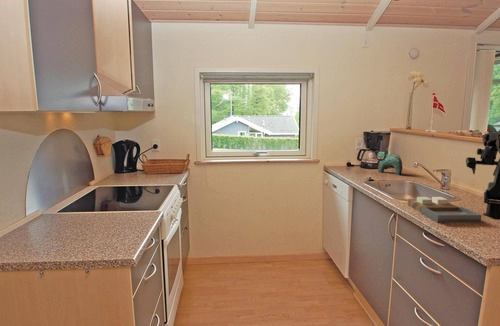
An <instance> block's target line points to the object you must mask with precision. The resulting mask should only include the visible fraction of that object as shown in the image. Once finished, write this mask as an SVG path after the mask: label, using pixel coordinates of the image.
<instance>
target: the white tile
mask: <svg viewBox="0 0 500 326" xmlns="http://www.w3.org/2000/svg"><path fill="white" fill-rule="evenodd" d="M431 199H432V202H434V203H436V204H447V202H448V203H449V201H448V199H447V198H444V197H442V196H432V197H431Z"/></svg>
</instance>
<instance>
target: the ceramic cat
mask: <svg viewBox="0 0 500 326" xmlns="http://www.w3.org/2000/svg"><path fill="white" fill-rule="evenodd" d="M387 150H389V151H391V149H390V148H387V149H386V150H385V151H381V150H379V151H378V153H377V154H376V159H378V160H379V161H378V166H377V171H378V172H377V173H382V174H383V173H384V172H385V168H386V167H387V166H392V167H393V168H394V169H395V170H394V171H395V176H401V175H402V172H403V162H402V158H401V156H400V155H399V154H397V153H395V154H393V153H389V154H388V153H387V152H386V151H387Z"/></svg>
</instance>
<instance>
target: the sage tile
mask: <svg viewBox="0 0 500 326" xmlns="http://www.w3.org/2000/svg"><path fill="white" fill-rule="evenodd" d="M416 200H417V202H419V203H421V204H432V198H429V197H427V196H417V197H416Z"/></svg>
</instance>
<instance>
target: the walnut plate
mask: <svg viewBox="0 0 500 326" xmlns="http://www.w3.org/2000/svg"><path fill="white" fill-rule="evenodd" d="M407 206H409V207H411V208H413V209H414V210H416V211H417V212H420V213H421V209H422V207H426V208H427V209H429V210H459V208H460V206H458V205H455V204H453V203H450V202H449V201H448V202H447V204H436V203H434V202H432V204H421V203H419V202H417V199H407Z"/></svg>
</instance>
